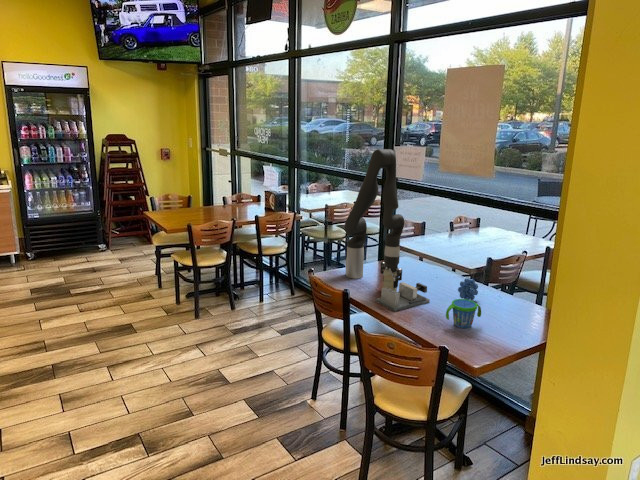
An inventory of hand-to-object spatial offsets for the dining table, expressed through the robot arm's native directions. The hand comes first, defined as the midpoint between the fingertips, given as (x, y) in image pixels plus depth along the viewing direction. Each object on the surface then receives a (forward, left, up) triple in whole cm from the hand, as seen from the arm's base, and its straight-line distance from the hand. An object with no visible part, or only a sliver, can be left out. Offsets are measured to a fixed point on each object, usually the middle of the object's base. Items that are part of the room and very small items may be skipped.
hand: (390, 285), depth 243 cm
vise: (+13, -3, -4) cm, 14 cm away
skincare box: (0, 0, -4) cm, 4 cm away
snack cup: (+46, +2, -4) cm, 46 cm away
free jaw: (+13, +4, -2) cm, 14 cm away
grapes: (+29, +25, -4) cm, 38 cm away
